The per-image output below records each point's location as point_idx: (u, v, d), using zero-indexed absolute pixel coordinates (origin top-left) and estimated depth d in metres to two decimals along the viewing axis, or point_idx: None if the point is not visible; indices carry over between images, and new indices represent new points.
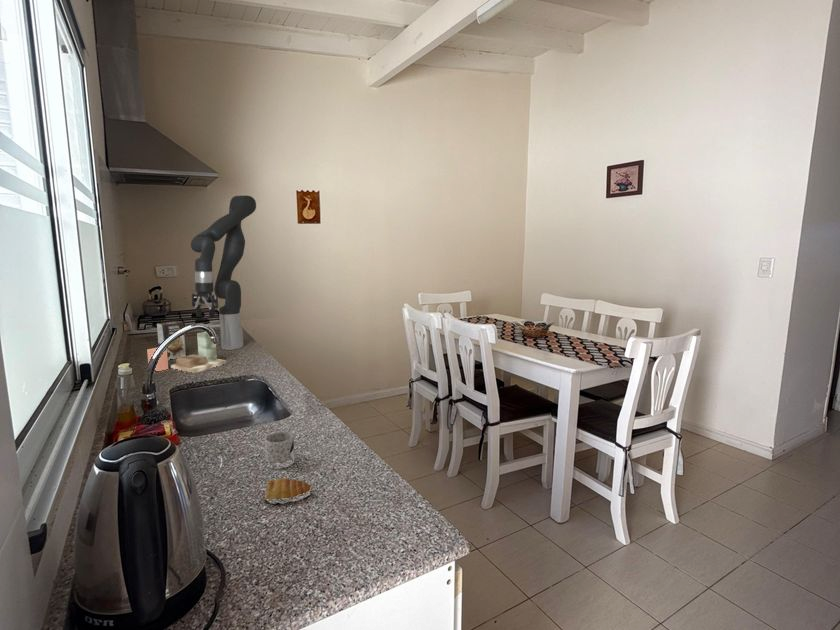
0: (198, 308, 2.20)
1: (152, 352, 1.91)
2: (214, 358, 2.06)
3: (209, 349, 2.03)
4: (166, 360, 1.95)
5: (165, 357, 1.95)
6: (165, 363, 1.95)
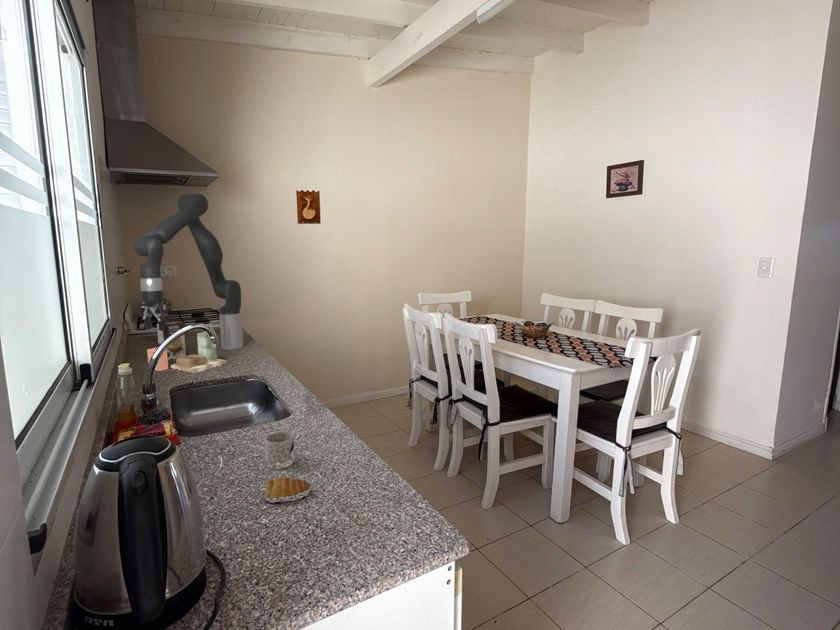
0: (147, 319, 1.93)
1: (152, 352, 1.91)
2: (214, 358, 2.06)
3: (209, 349, 2.03)
4: (166, 360, 1.95)
5: (165, 357, 1.95)
6: (165, 363, 1.95)
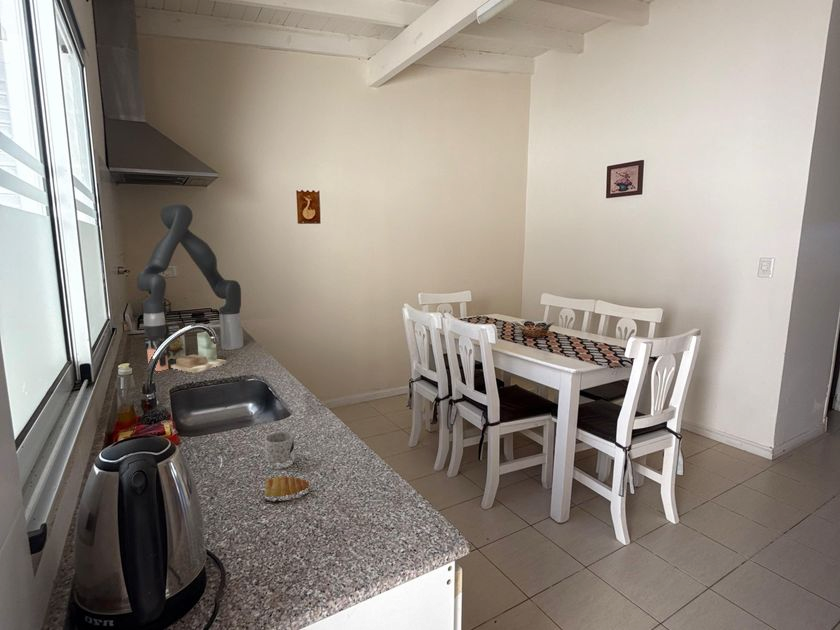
0: None
1: (152, 352, 1.91)
2: (214, 358, 2.06)
3: (209, 349, 2.03)
4: (166, 360, 1.95)
5: (165, 357, 1.95)
6: None
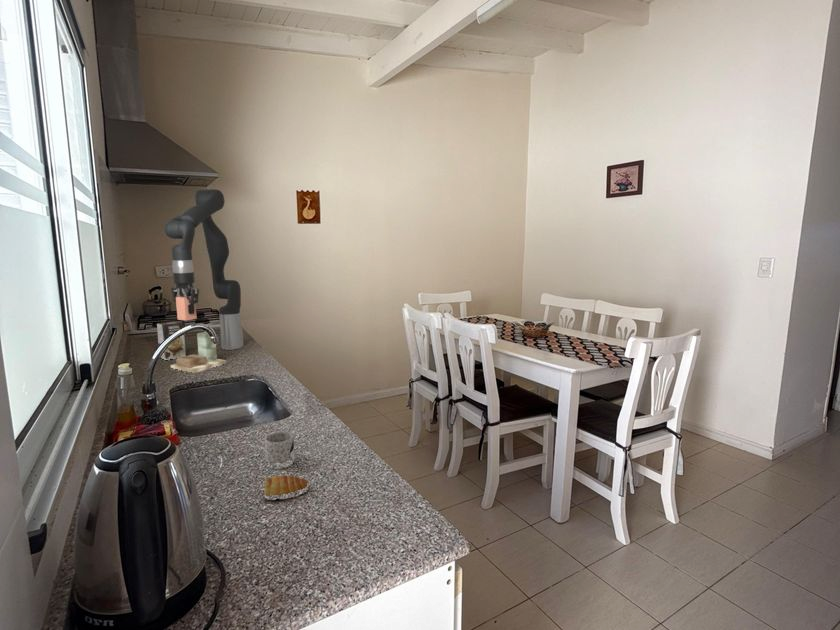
0: None
1: (181, 300, 1.92)
2: (214, 358, 2.06)
3: (209, 349, 2.03)
4: (194, 308, 1.95)
5: None
6: None
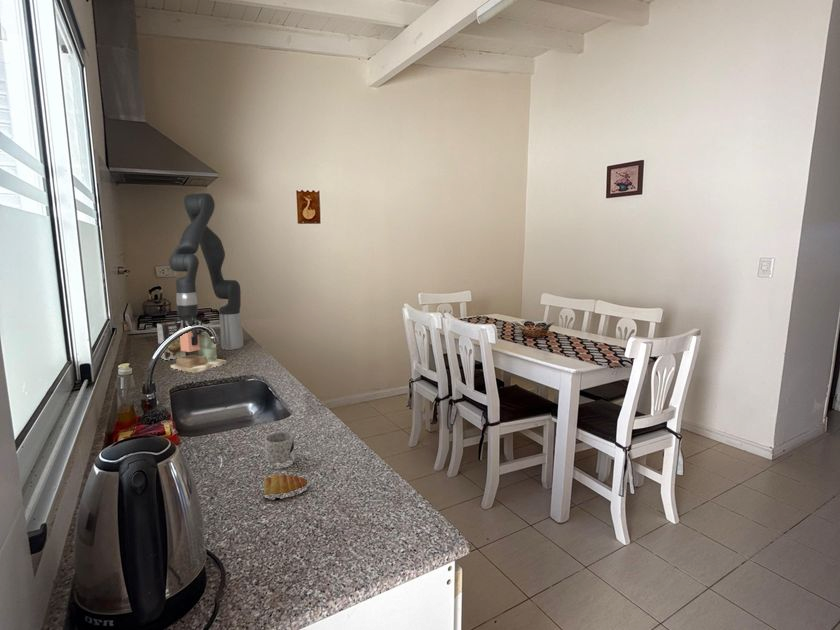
0: None
1: None
2: (214, 358, 2.06)
3: (209, 349, 2.03)
4: None
5: (197, 337, 1.97)
6: None
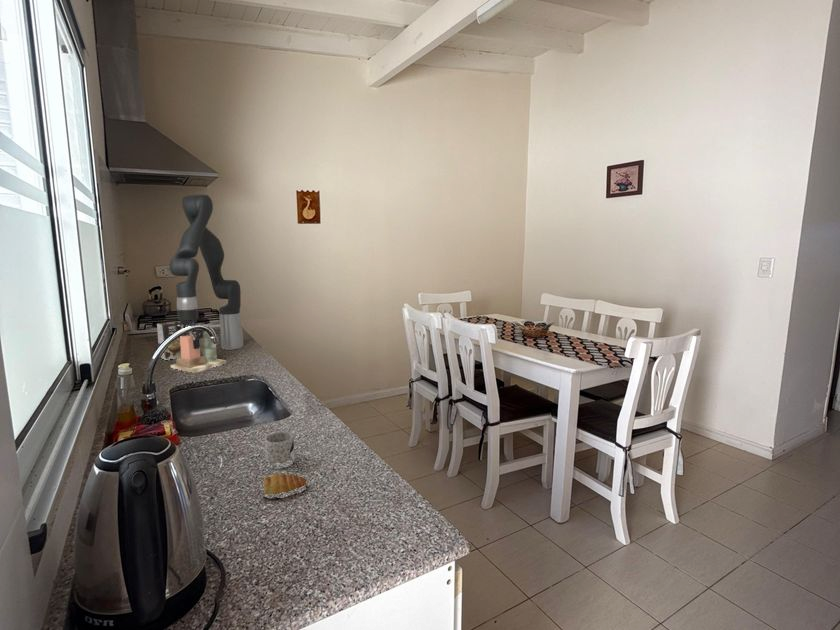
0: None
1: (185, 339, 1.94)
2: (214, 358, 2.06)
3: (209, 349, 2.03)
4: None
5: None
6: (197, 351, 1.98)
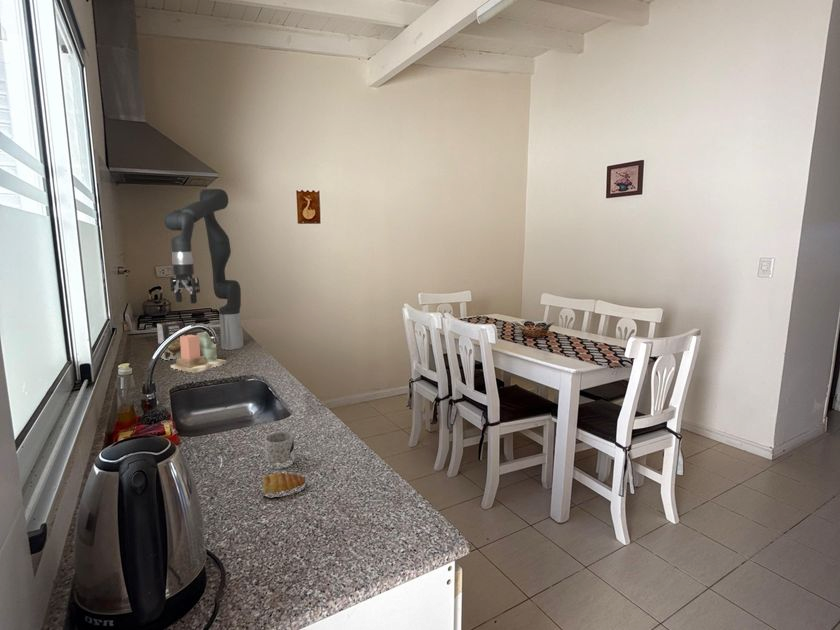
0: (178, 293, 1.97)
1: (185, 339, 1.94)
2: (214, 358, 2.06)
3: (209, 349, 2.03)
4: (198, 347, 1.98)
5: (197, 344, 1.98)
6: (197, 351, 1.98)
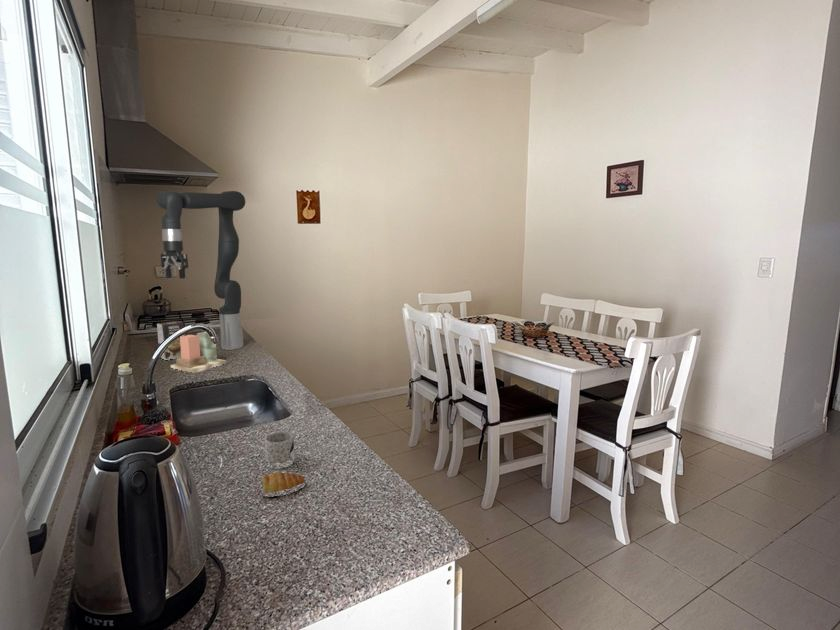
0: (168, 269, 2.08)
1: (185, 339, 1.94)
2: (214, 358, 2.06)
3: (209, 349, 2.03)
4: (198, 347, 1.98)
5: (197, 344, 1.98)
6: (197, 351, 1.98)
